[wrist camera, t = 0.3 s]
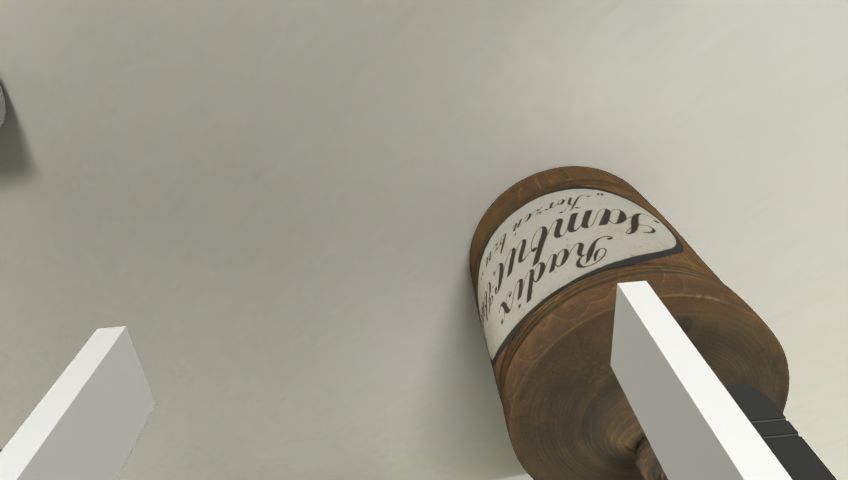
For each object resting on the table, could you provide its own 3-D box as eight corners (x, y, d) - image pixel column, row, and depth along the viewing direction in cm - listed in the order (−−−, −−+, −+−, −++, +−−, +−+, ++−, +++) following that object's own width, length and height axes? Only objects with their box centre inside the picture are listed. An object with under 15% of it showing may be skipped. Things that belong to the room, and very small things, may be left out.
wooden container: (589, 123, 42) (760, 281, 22) (688, 260, 47) (896, 485, 27) (430, 245, 46) (453, 472, 26) (538, 358, 51) (626, 617, 31)
